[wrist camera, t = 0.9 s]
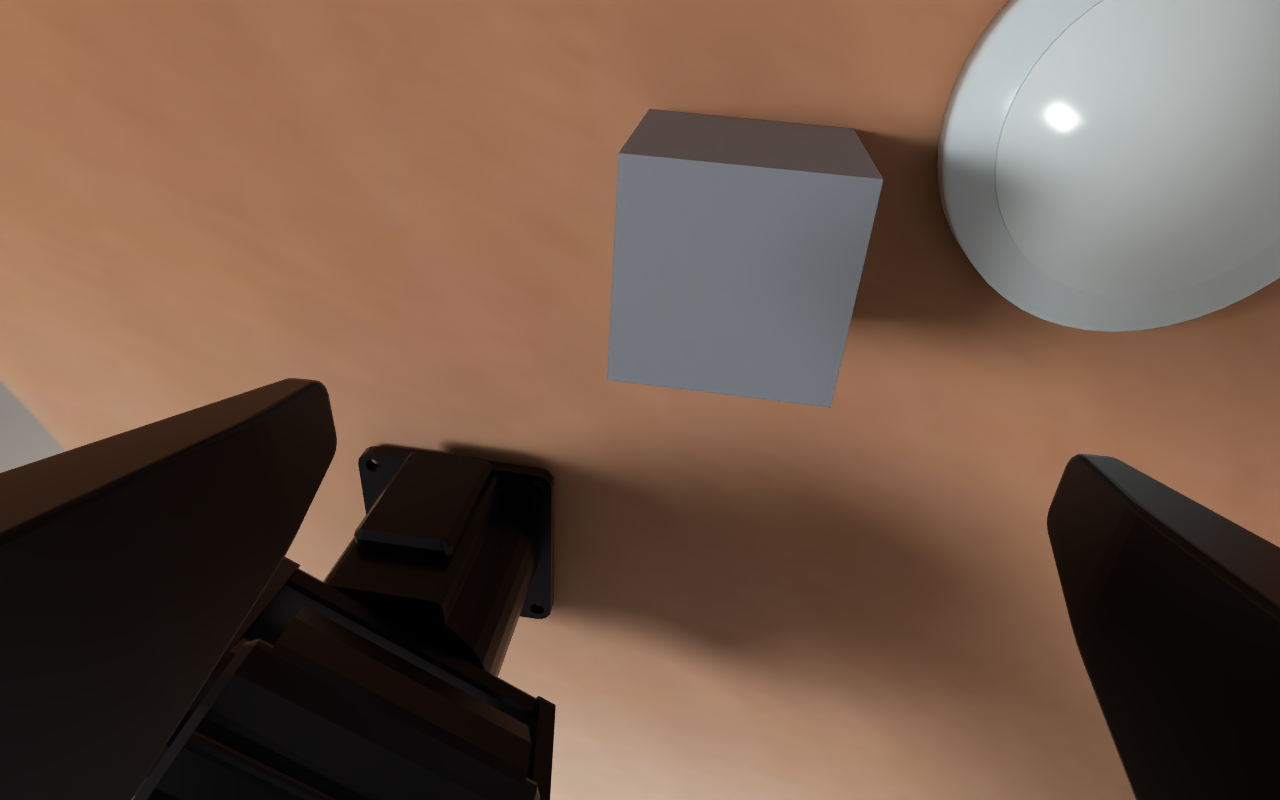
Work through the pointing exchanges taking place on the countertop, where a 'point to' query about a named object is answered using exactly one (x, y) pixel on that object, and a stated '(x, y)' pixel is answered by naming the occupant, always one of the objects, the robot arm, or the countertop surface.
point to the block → (738, 255)
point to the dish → (1118, 158)
